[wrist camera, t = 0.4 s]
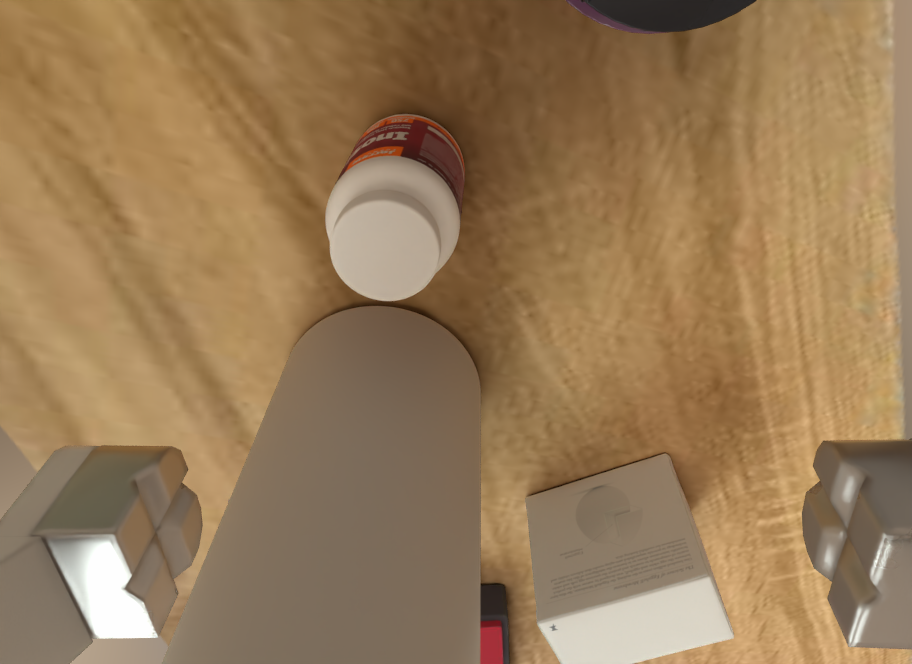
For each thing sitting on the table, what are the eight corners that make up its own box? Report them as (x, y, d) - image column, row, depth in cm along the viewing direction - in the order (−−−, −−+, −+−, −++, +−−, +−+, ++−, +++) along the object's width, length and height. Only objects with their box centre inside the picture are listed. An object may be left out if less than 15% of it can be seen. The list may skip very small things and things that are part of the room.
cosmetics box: (555, 555, 55) (570, 685, 46) (523, 495, 53) (532, 621, 44) (694, 515, 53) (738, 644, 44) (668, 450, 50) (710, 573, 41)
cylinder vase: (253, 332, 46) (54, 714, 25) (442, 275, 44) (403, 643, 22) (335, 478, 52) (232, 889, 31) (505, 434, 50) (523, 847, 28)
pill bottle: (406, 85, 39) (382, 149, 29) (488, 169, 41) (490, 254, 31) (328, 166, 41) (281, 250, 31) (409, 242, 43) (388, 341, 33)
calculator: (512, 715, 60) (324, 725, 60) (507, 666, 63) (330, 676, 63) (509, 623, 54) (302, 635, 54) (504, 576, 58) (310, 587, 58)
